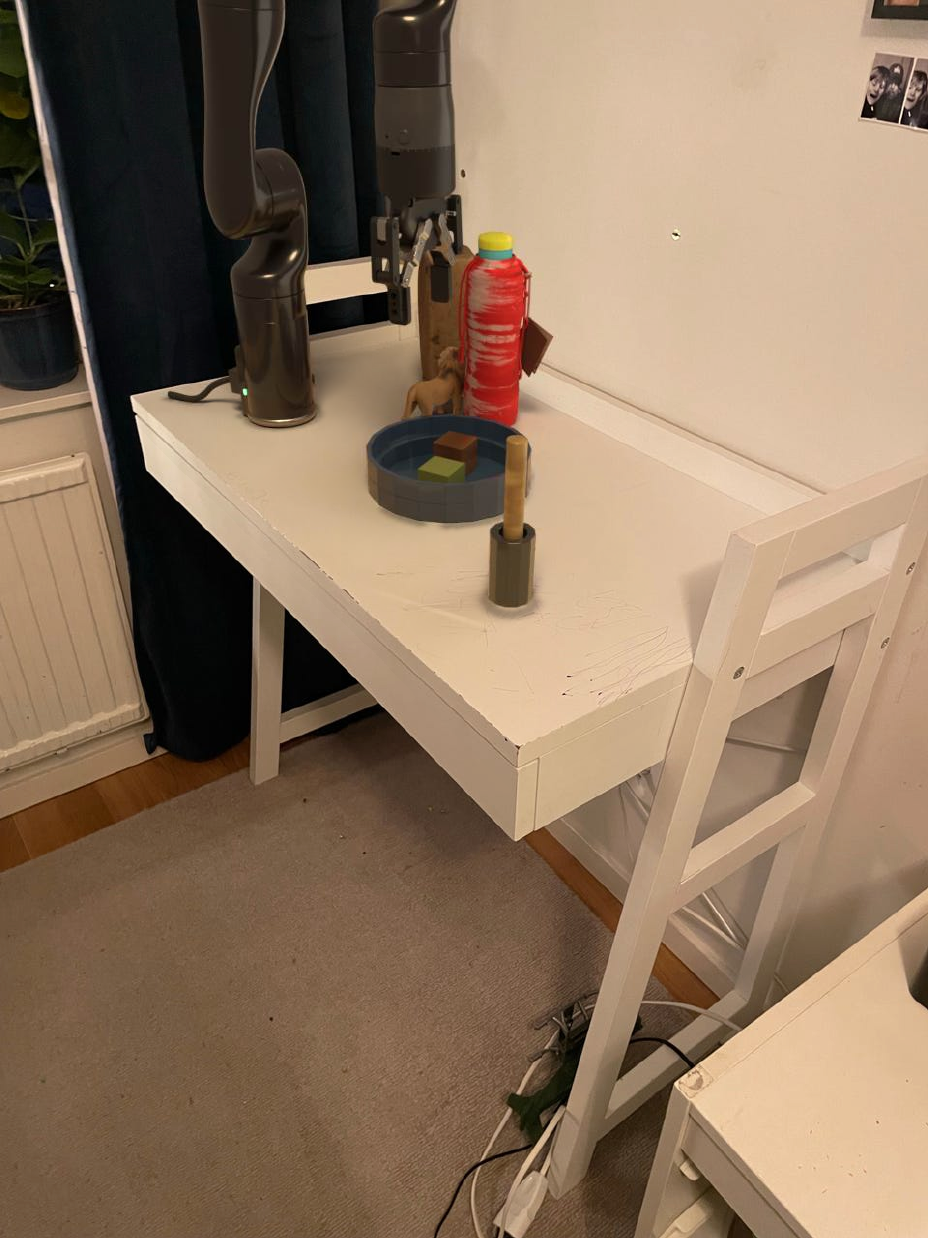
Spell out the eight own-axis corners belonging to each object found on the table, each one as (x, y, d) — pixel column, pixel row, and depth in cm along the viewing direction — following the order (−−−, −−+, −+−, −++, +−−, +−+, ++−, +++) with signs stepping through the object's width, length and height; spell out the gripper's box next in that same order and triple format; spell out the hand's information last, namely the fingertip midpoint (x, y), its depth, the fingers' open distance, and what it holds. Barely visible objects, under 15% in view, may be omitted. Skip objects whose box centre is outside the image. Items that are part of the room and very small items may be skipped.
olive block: (418, 500, 109) (417, 468, 106) (435, 486, 112) (435, 455, 109) (448, 508, 107) (448, 476, 105) (464, 493, 110) (465, 462, 108)
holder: (480, 606, 93) (482, 536, 88) (500, 585, 96) (502, 516, 91) (519, 618, 91) (523, 547, 86) (538, 596, 94) (542, 527, 89)
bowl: (337, 503, 109) (334, 460, 106) (420, 442, 123) (419, 403, 120) (482, 544, 102) (483, 500, 99) (553, 475, 116) (556, 434, 113)
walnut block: (433, 472, 114) (433, 442, 112) (449, 460, 117) (449, 430, 115) (462, 479, 113) (462, 449, 111) (477, 467, 116) (477, 437, 113)
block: (479, 399, 135) (482, 256, 124) (428, 403, 134) (426, 258, 122) (463, 372, 144) (464, 236, 132) (415, 376, 143) (412, 238, 131)
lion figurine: (442, 401, 134) (442, 339, 129) (476, 408, 132) (477, 346, 127) (390, 440, 123) (388, 374, 118) (426, 448, 121) (425, 381, 116)
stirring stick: (497, 599, 93) (502, 440, 83) (505, 590, 94) (512, 432, 84) (514, 604, 92) (522, 445, 82) (522, 595, 93) (531, 437, 83)
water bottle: (535, 410, 132) (546, 223, 118) (550, 433, 126) (564, 238, 112) (452, 416, 130) (452, 226, 116) (463, 440, 124) (465, 242, 110)
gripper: (418, 127, 95) (424, 291, 104) (339, 146, 84) (353, 326, 94) (485, 131, 92) (484, 299, 101) (411, 152, 81) (418, 337, 91)
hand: (421, 312), depth 97 cm, fingers open, 8 cm apart
